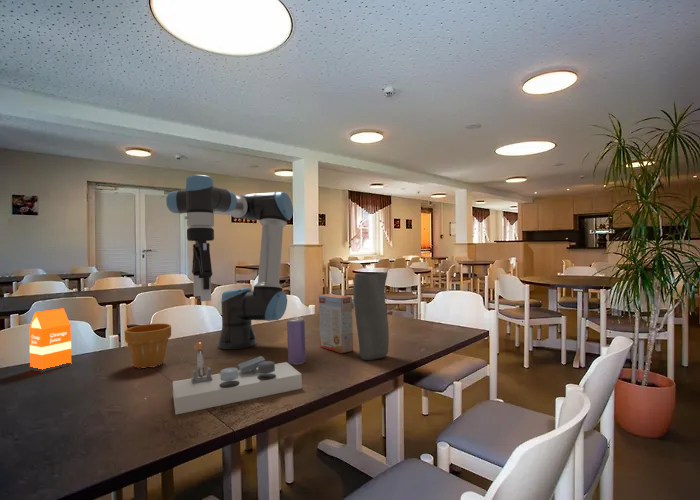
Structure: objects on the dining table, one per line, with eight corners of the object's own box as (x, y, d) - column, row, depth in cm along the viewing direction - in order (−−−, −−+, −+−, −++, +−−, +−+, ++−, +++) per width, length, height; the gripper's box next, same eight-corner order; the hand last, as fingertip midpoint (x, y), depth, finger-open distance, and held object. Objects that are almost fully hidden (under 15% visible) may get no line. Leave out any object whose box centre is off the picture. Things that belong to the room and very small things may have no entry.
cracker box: (354, 351, 140) (352, 296, 140) (341, 354, 136) (340, 297, 136) (331, 344, 151) (330, 293, 151) (319, 347, 147) (318, 294, 147)
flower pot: (178, 363, 129) (177, 326, 129) (133, 374, 118) (132, 334, 118) (163, 356, 138) (162, 321, 138) (120, 365, 128) (119, 328, 128)
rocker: (238, 369, 107) (237, 364, 107) (262, 360, 110) (261, 355, 110) (242, 373, 103) (241, 368, 103) (266, 364, 106) (265, 359, 106)
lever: (196, 379, 100) (193, 344, 105) (206, 377, 102) (203, 343, 107) (196, 376, 98) (194, 341, 103) (207, 374, 100) (204, 340, 105)
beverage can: (302, 365, 124) (301, 320, 124) (285, 364, 125) (284, 320, 125) (307, 360, 130) (306, 317, 130) (291, 359, 131) (290, 317, 131)
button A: (256, 369, 103) (256, 362, 103) (272, 367, 105) (272, 360, 105) (260, 374, 99) (260, 367, 99) (276, 371, 101) (276, 364, 101)
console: (173, 396, 100) (172, 370, 100) (287, 374, 115) (286, 352, 115) (175, 414, 88) (174, 385, 88) (301, 388, 103) (301, 363, 103)
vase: (364, 364, 123) (362, 274, 123) (349, 355, 134) (347, 273, 134) (396, 359, 128) (394, 273, 128) (379, 351, 139) (377, 271, 139)
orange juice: (71, 365, 130) (70, 308, 130) (42, 373, 122) (41, 312, 122) (59, 362, 133) (57, 307, 133) (29, 370, 125) (28, 311, 125)
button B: (219, 376, 98) (219, 369, 98) (236, 373, 100) (236, 366, 100) (221, 382, 94) (221, 374, 94) (239, 378, 96) (239, 371, 96)
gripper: (181, 229, 120) (183, 295, 120) (193, 224, 98) (194, 304, 98) (206, 230, 123) (207, 293, 123) (222, 225, 102) (224, 301, 102)
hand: (202, 298), depth 111 cm, fingers open, 13 cm apart
